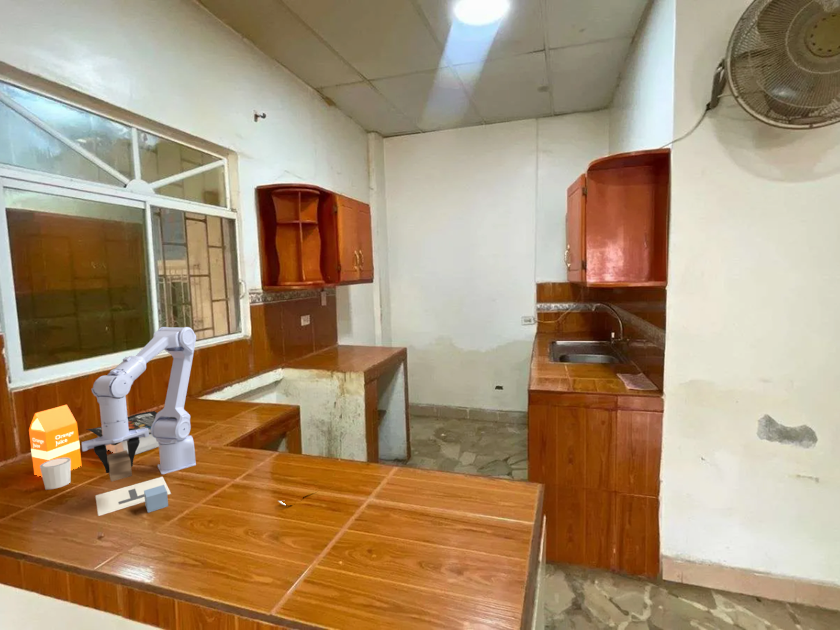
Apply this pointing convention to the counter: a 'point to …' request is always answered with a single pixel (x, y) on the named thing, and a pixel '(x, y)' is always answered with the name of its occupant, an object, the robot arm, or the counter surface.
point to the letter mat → (126, 496)
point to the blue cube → (156, 498)
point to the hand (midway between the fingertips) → (119, 468)
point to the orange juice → (54, 437)
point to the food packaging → (135, 423)
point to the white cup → (56, 472)
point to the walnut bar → (119, 465)
